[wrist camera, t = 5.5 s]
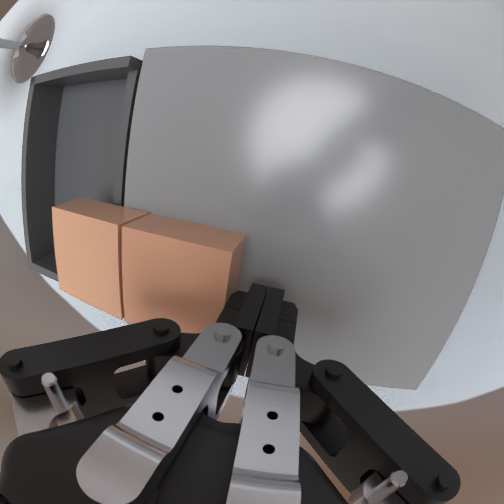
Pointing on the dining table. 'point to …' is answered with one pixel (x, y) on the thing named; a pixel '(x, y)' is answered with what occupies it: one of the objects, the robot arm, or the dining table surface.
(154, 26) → the dining table surface
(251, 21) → the dining table surface
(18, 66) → the wine glass
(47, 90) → the tray
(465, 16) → the dining table surface
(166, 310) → the tile front
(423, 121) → the slate ledge
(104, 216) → the tile rear
